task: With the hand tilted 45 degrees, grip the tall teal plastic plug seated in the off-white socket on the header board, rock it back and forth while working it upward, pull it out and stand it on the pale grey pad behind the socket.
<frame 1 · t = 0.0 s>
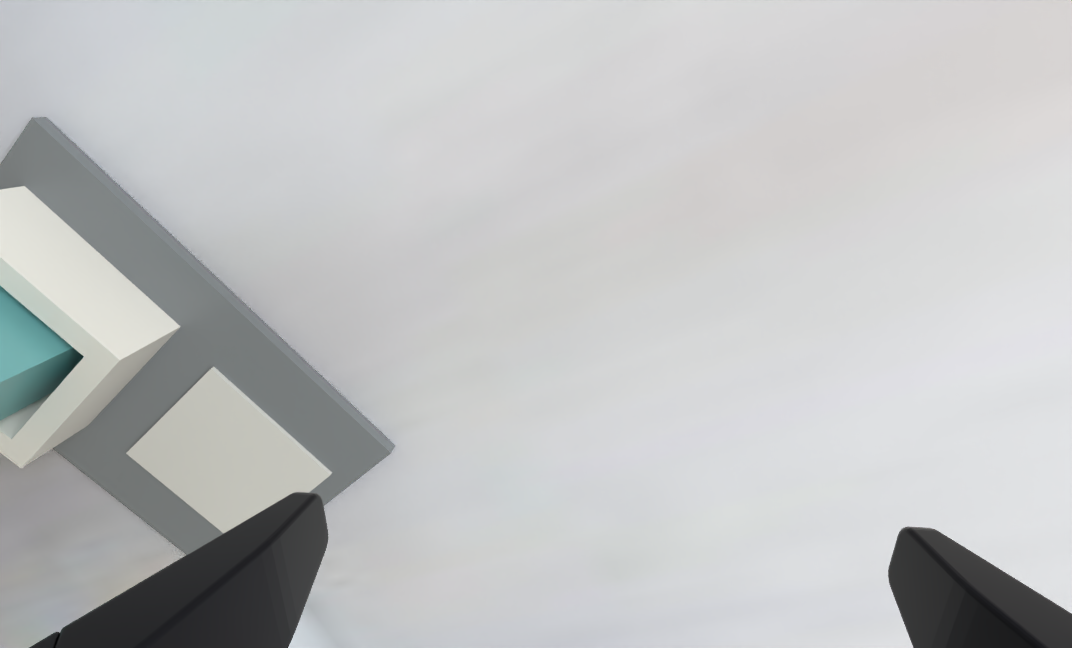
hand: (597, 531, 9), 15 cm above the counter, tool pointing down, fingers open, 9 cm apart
plug: (58, 315, 25), point 1 cm above the counter, touching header
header: (70, 310, 25), on the counter
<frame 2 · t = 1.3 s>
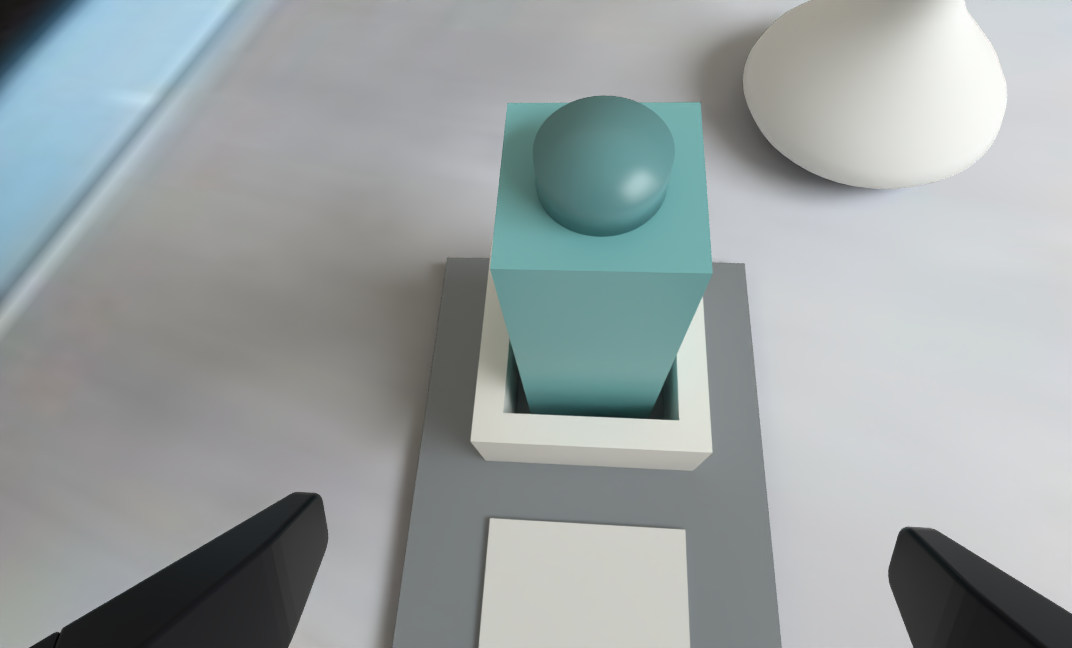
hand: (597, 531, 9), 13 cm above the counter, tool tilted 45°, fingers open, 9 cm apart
plug: (589, 368, 23), point 1 cm above the counter, touching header
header: (589, 372, 24), on the counter
flower in vase: (867, 122, 28), on the counter
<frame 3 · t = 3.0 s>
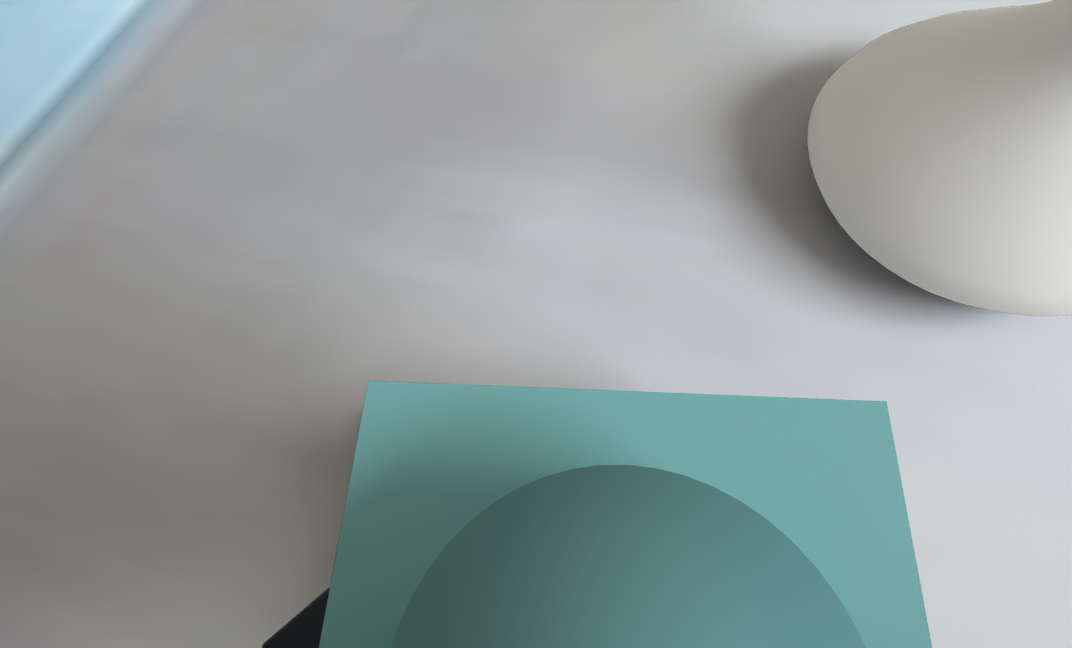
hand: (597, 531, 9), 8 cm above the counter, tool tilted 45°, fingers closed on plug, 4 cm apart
plug: (587, 606, 15), point 1 cm above the counter, touching gripper, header
flower in vase: (981, 200, 20), on the counter
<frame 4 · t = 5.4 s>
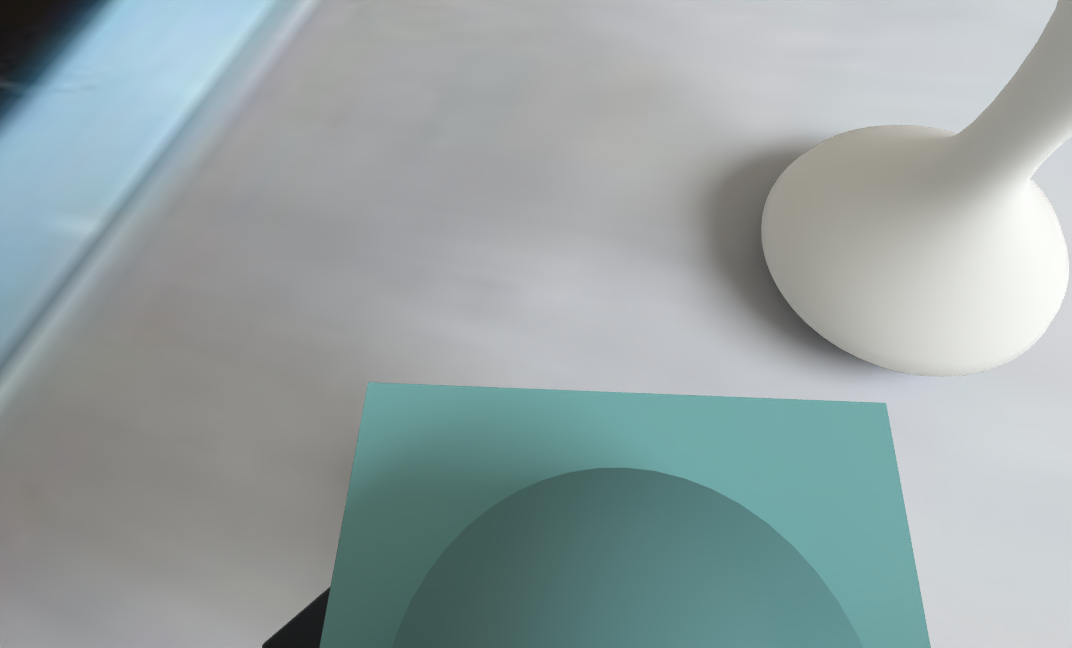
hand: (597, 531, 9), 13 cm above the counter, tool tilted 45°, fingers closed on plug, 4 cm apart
plug: (587, 604, 15), point 6 cm above the counter, touching gripper
flower in vase: (902, 273, 25), on the counter
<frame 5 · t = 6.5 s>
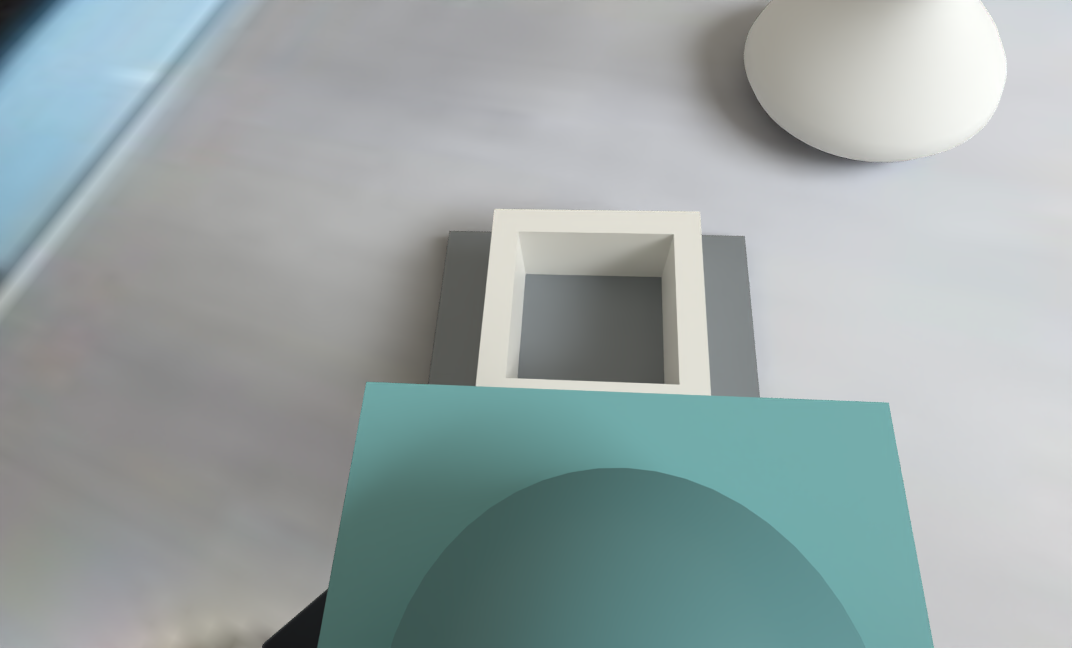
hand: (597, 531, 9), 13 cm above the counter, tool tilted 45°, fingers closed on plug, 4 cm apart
plug: (587, 605, 15), point 6 cm above the counter, touching gripper
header: (590, 343, 24), on the counter
flower in vase: (868, 98, 28), on the counter
when the fingers open (9 cm above the counter, at t = 7.7 s): plug stays where it is, resting on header.
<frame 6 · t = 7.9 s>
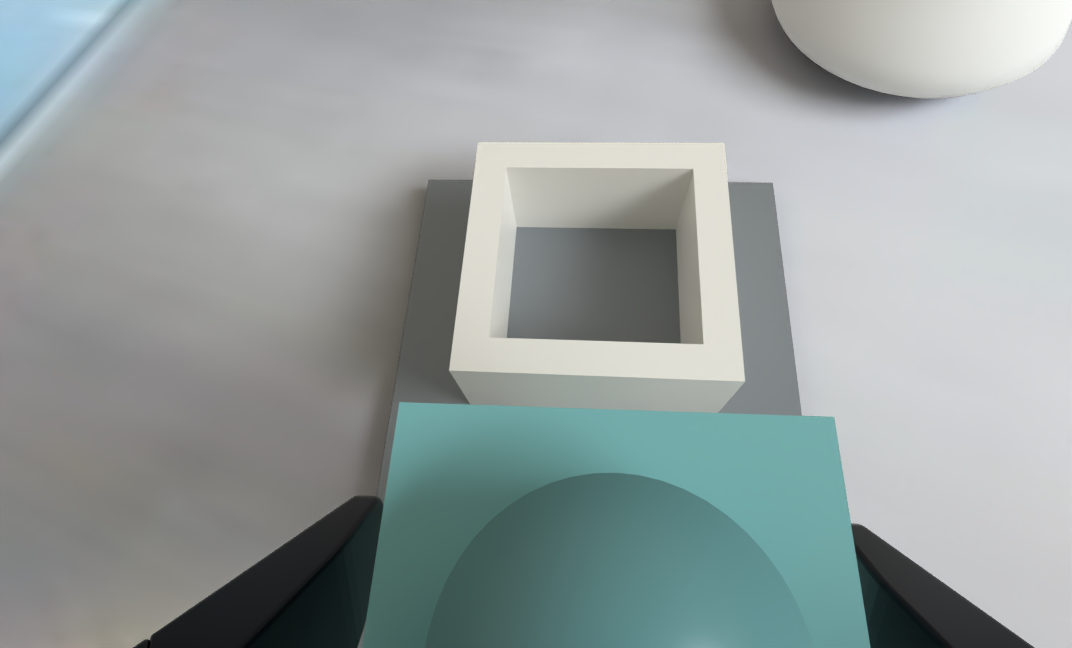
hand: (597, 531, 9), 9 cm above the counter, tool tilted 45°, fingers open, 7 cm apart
plug: (587, 602, 16), point 1 cm above the counter, touching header
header: (593, 306, 20), on the counter
flower in vase: (909, 33, 25), on the counter
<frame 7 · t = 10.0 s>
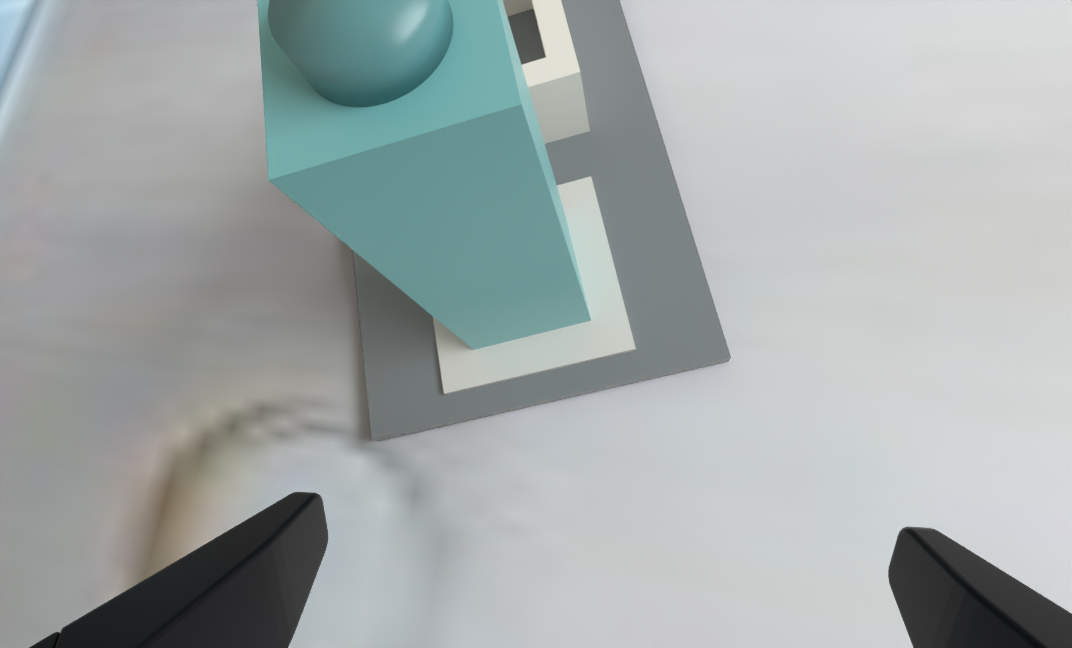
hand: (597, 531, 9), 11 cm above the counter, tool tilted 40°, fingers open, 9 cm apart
plug: (520, 280, 21), point 1 cm above the counter, touching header
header: (484, 90, 25), on the counter
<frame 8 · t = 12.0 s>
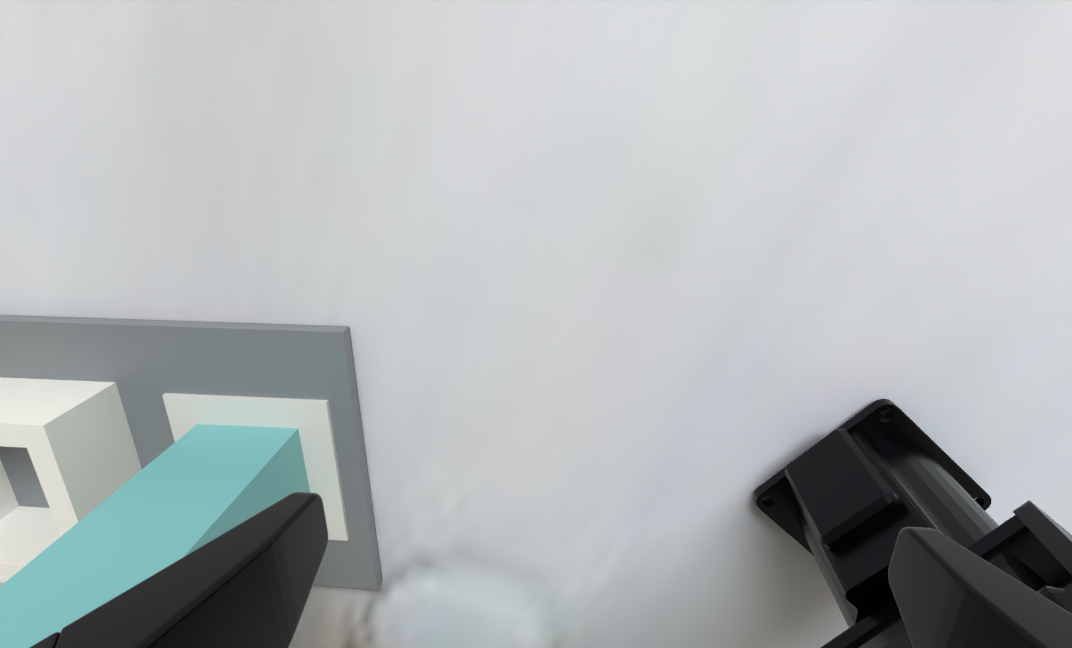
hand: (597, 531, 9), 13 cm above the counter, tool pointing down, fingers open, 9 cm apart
plug: (257, 470, 25), point 1 cm above the counter, touching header
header: (68, 449, 26), on the counter
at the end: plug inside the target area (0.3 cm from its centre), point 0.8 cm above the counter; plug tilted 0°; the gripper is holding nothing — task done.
